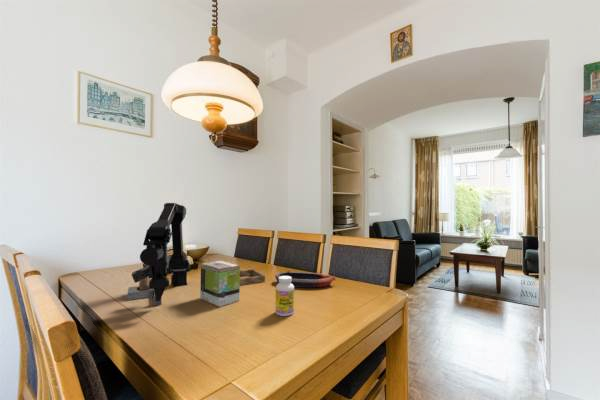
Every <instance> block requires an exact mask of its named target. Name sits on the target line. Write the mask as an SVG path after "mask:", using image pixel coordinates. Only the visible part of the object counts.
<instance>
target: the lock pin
mask: <svg viewBox="0 0 600 400" xmlns="http://www.w3.org/2000/svg"><path fill="white" fill-rule="evenodd" d="M152 298H153V299H152V304H153V306H157V305H162V298H163V296H162V297H161V299H160V301H156V297H155V293H154V292H153V297H152Z"/></svg>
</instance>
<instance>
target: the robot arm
mask: <svg viewBox="0 0 600 400" xmlns="http://www.w3.org/2000/svg"><path fill="white" fill-rule="evenodd" d="M186 215H187V208H186V206H184V205H182V204H178V203H177V202H166V203H164V205H163V208H162V211H161V213H160V215H159V217H158V219H157V221H155V222H153V223H151V224H150V226H149V227H148V229H147V230H146V232H145V237H144V240H143V244H142V245H143V246H146V247H145V248H144V249H143V250H142V251H141V252H140V254H139V259H140V262H141V263H142V264H143V265H147V266H145V267H142V268H140V269H137V270H134V271H132V273H131V277H132V279H133V281H134V282H133V283H139V281H140V280H142V279H144V278H147V277H148V276H149V278H150V281H149V289H154V291H153V294H154V293H155V297H156V301H160V299H161V297H162V298H163V295H164V292H165V290H166V288H168V287H170V284H171V285H172V287H179V286H187V285H188V281H187V279H188V277H187V276H188V272H191V264H190V262H189V259H188V255H187V254H186V252H185V251H184V240H183V221H184V219H185V218H186ZM170 227H171V228H170ZM171 241H172V255H171V257H170V258H169V262H168V244H169V243H170V242H171ZM168 272H169V274H171V275H170V280H169V278H168Z"/></svg>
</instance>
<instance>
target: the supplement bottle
mask: <svg viewBox="0 0 600 400" xmlns="http://www.w3.org/2000/svg"><path fill="white" fill-rule="evenodd" d="M291 281H292V277H290V276H280V277H279V282H278V283H277V284H276V286H275V314H277V316H280V317H289V316H291V315H293V314H294V311H295V287H294V285H293V284H291Z"/></svg>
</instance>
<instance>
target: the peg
mask: <svg viewBox="0 0 600 400" xmlns="http://www.w3.org/2000/svg"><path fill="white" fill-rule="evenodd" d="M150 280H151V278H149V276H148V277H147V278H144V279H142V280H140V281H139V282H138V283H139V285H138V286H139V290H146V289H149V281H150Z"/></svg>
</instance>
